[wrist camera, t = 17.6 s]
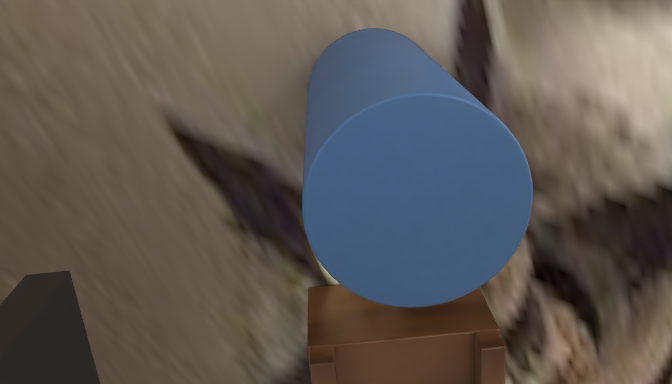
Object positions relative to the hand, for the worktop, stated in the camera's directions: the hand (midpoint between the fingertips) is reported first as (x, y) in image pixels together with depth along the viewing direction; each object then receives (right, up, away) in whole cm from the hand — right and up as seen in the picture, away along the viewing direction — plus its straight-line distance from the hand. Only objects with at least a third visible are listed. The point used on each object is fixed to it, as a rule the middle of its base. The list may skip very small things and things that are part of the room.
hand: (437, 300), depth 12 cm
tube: (0, +4, +10) cm, 10 cm away
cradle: (+1, -6, +20) cm, 21 cm away
